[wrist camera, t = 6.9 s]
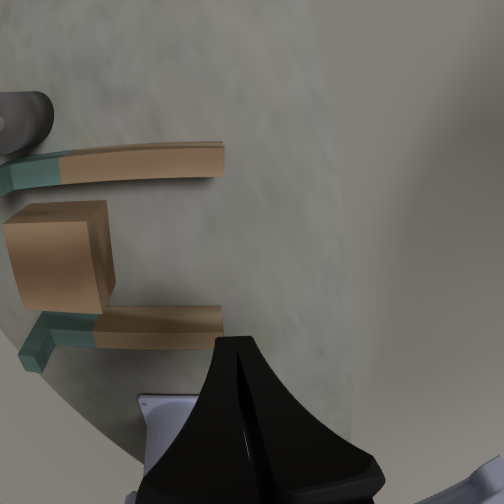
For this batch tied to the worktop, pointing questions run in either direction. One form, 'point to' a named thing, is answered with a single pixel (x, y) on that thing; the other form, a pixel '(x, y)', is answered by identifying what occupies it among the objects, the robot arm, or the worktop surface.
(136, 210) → the worktop surface
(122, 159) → the bay
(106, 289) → the brown wooden block
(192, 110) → the worktop surface
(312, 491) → the robot arm
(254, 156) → the worktop surface
